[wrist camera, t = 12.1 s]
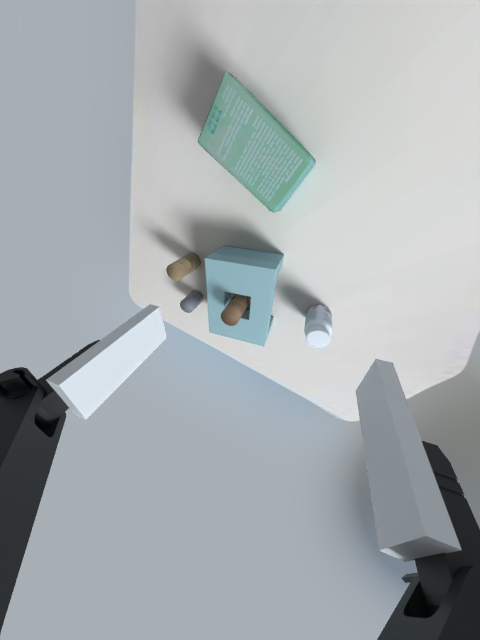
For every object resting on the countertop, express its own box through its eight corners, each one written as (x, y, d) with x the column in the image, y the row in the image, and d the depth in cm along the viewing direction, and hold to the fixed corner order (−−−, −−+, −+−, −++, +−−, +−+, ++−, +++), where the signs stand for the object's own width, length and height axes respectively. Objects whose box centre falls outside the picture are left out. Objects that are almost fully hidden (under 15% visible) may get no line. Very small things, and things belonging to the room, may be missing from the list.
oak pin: (186, 251, 43) (165, 263, 38) (199, 254, 43) (180, 266, 37) (188, 266, 45) (168, 279, 39) (200, 268, 44) (182, 282, 39)
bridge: (223, 245, 40) (204, 258, 34) (283, 254, 37) (275, 269, 31) (223, 312, 49) (209, 332, 43) (272, 323, 46) (264, 346, 40)
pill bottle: (305, 322, 43) (302, 348, 37) (306, 303, 41) (303, 327, 34) (330, 324, 42) (331, 351, 35) (332, 304, 39) (334, 329, 33)
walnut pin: (242, 279, 43) (220, 308, 33) (257, 282, 42) (238, 312, 33) (242, 293, 44) (220, 323, 35) (256, 295, 44) (238, 327, 34)
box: (282, 209, 33) (273, 215, 27) (218, 149, 32) (194, 142, 26) (317, 163, 29) (316, 158, 23) (245, 90, 27) (223, 66, 21)
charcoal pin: (190, 289, 49) (179, 299, 45) (202, 291, 48) (192, 301, 44) (192, 300, 51) (181, 311, 47) (203, 303, 50) (193, 313, 46)
